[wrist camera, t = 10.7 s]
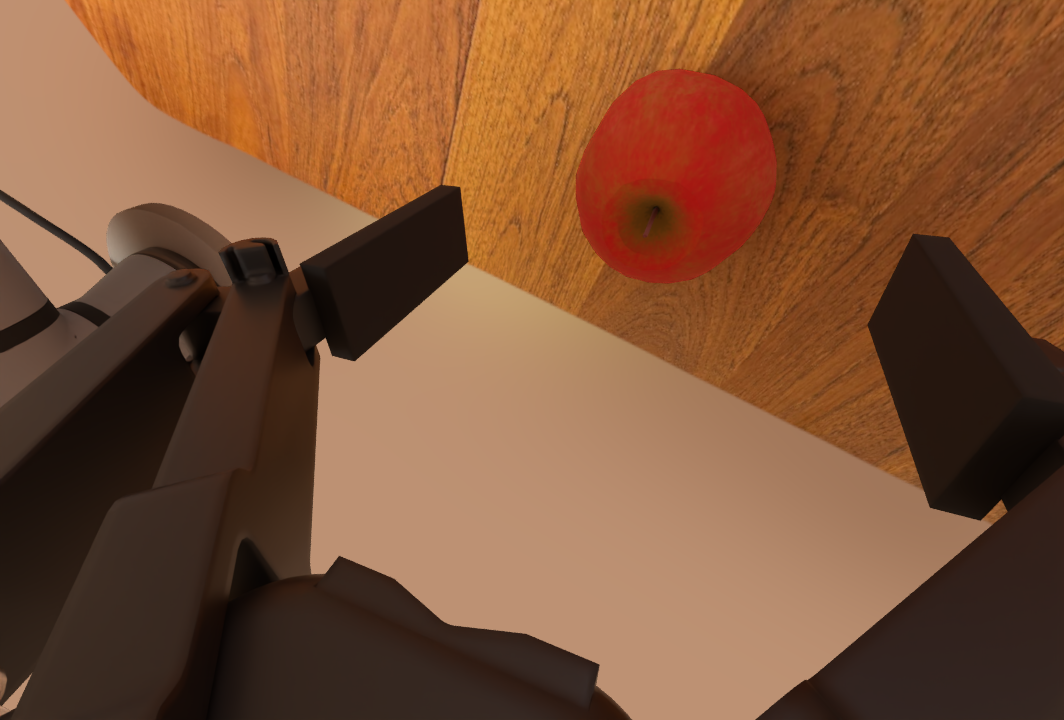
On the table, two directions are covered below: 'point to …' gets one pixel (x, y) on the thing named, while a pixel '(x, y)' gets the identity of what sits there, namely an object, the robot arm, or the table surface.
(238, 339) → the robot arm
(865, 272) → the table surface
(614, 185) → the apple
